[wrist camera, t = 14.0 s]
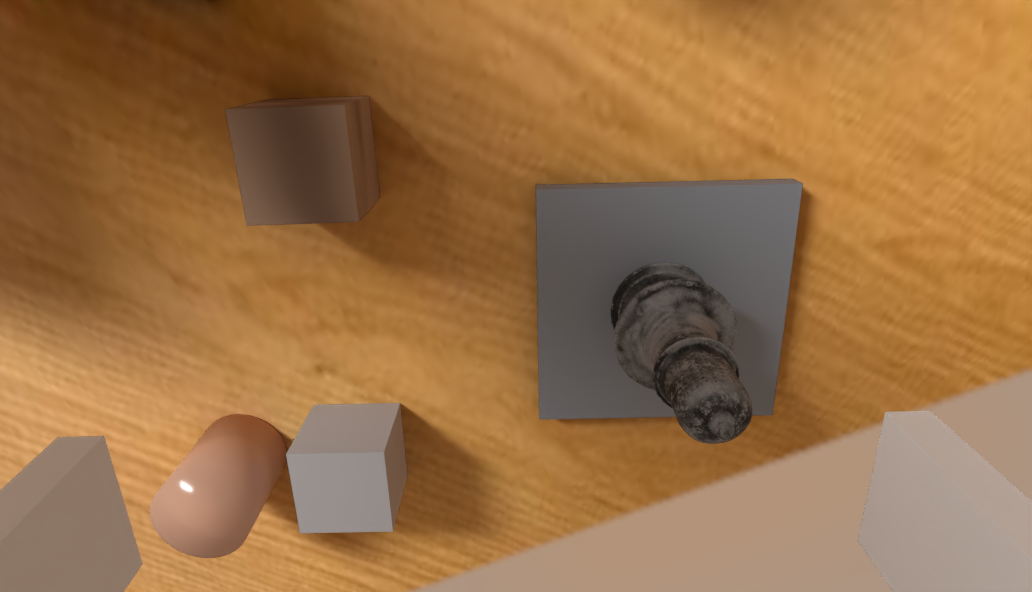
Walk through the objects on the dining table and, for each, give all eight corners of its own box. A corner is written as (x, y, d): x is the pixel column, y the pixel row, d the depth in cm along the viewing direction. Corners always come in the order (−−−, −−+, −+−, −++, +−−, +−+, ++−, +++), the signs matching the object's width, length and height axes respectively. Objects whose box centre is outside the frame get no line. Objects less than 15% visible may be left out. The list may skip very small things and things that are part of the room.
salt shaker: (625, 243, 34) (678, 345, 22) (734, 272, 34) (840, 385, 23) (590, 345, 36) (623, 485, 24) (694, 371, 36) (773, 519, 25)
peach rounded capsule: (203, 478, 40) (151, 550, 35) (202, 408, 38) (148, 473, 33) (285, 490, 41) (248, 563, 35) (289, 421, 39) (249, 487, 33)
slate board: (538, 408, 38) (539, 419, 37) (535, 184, 34) (536, 189, 33) (765, 404, 38) (772, 415, 37) (793, 178, 33) (802, 183, 32)
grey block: (325, 476, 40) (299, 533, 36) (314, 404, 38) (285, 454, 34) (407, 474, 40) (392, 531, 35) (400, 402, 38) (383, 452, 34)
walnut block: (284, 200, 34) (246, 225, 29) (267, 99, 32) (225, 109, 28) (380, 197, 34) (358, 221, 29) (369, 95, 32) (344, 104, 28)
